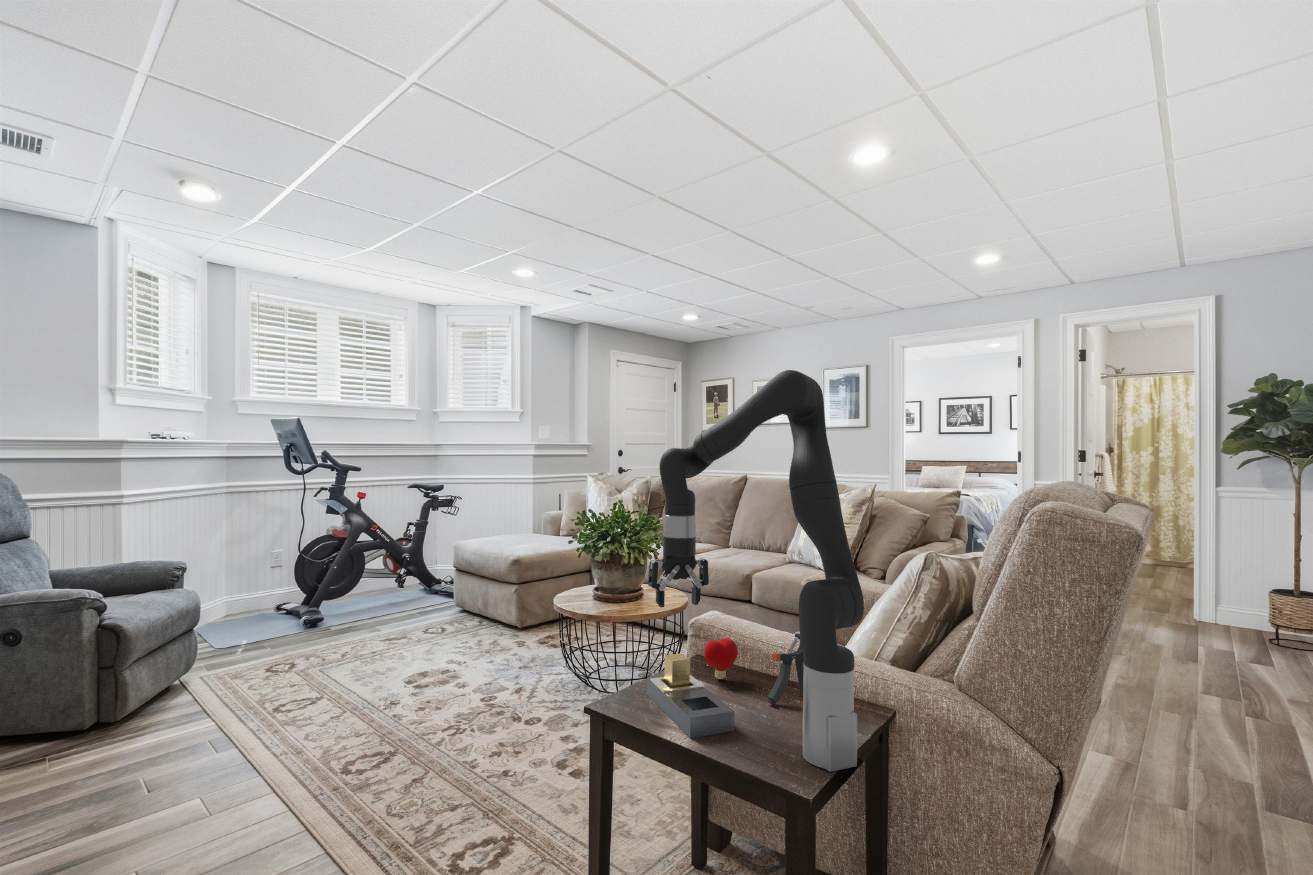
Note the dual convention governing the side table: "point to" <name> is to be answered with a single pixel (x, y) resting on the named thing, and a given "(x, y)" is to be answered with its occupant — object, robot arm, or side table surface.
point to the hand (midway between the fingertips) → (678, 605)
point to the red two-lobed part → (721, 655)
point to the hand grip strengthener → (787, 670)
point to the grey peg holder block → (692, 707)
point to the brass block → (677, 671)
